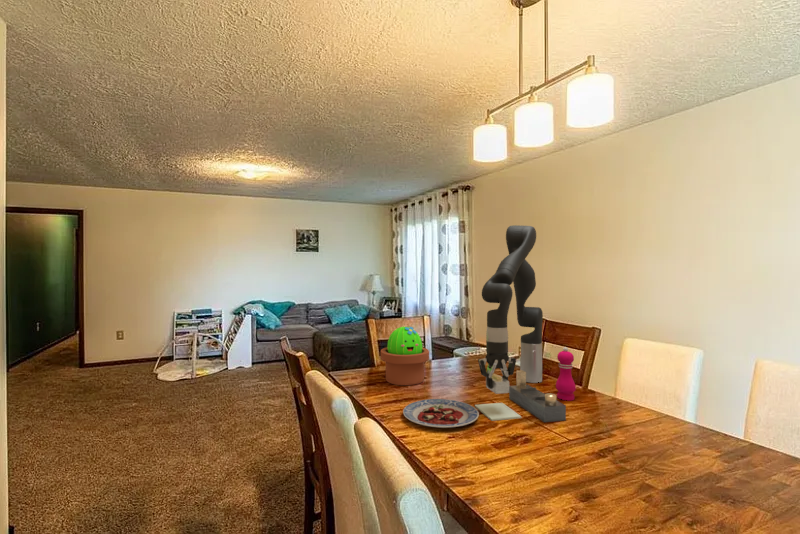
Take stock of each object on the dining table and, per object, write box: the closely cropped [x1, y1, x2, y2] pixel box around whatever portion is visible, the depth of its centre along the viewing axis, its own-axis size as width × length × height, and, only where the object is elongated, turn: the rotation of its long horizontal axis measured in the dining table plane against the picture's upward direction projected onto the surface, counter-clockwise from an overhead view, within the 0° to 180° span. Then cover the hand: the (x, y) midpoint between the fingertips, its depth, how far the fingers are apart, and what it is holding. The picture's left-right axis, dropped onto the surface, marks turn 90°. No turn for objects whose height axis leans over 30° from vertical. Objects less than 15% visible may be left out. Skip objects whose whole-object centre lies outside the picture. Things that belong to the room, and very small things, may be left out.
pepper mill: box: [555, 346, 577, 402], centre depth 155 cm, size 7×7×20 cm
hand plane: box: [508, 369, 567, 423], centre depth 143 cm, size 24×8×11 cm, turn 12°
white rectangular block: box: [485, 373, 510, 395], centre depth 140 cm, size 8×5×5 cm, turn 12°
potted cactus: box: [380, 325, 430, 386], centre depth 180 cm, size 22×22×25 cm
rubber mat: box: [474, 402, 522, 421], centre depth 140 cm, size 14×11×1 cm
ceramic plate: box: [402, 398, 480, 429], centre depth 135 cm, size 26×26×3 cm
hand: (497, 387), depth 140 cm, fingers closed on white rectangular block, 5 cm apart
